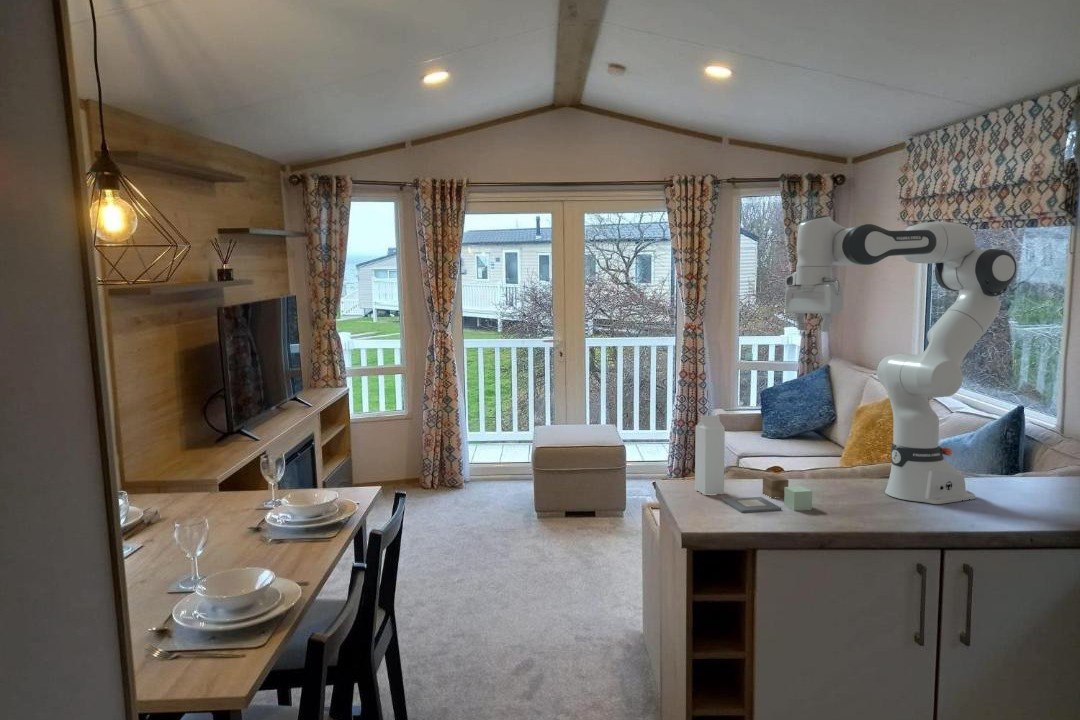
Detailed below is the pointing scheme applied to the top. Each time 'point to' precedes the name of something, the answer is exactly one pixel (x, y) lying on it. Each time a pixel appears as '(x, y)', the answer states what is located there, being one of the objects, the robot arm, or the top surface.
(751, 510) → the coaster
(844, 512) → the top surface
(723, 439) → the milk
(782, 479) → the walnut block
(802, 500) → the green block
